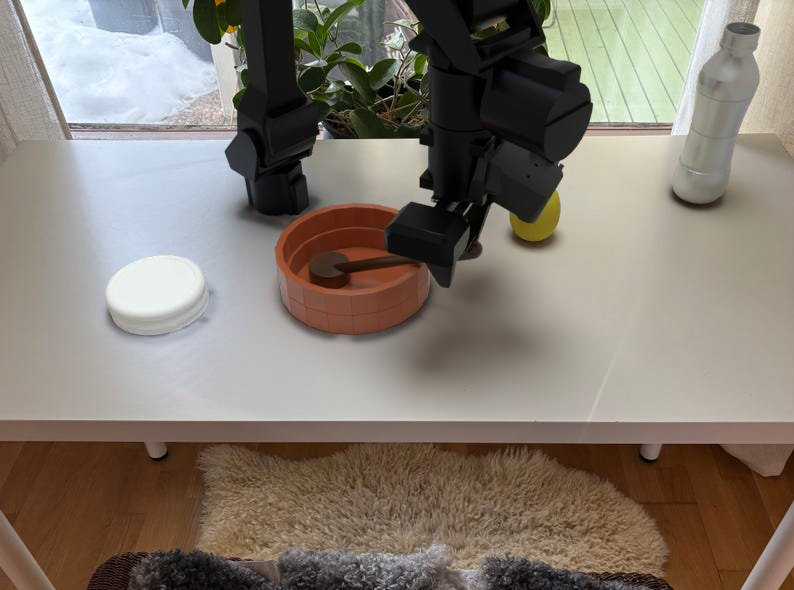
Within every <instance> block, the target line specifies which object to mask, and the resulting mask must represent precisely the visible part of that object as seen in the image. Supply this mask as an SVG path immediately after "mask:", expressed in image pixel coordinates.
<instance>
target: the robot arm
mask: <svg viewBox="0 0 794 590" xmlns="http://www.w3.org/2000/svg"><path fill="white" fill-rule="evenodd" d="M239 1H240V2H239V3H240V12H241V21H242V30H243V39H244V40H243V41H244V49H245V59H246V67H247V79H248V83H247V86H246V88H245V90H244V92H243V94H242V96H241V98H240V100H239V103H238V106H237V108H236V132H237V134H236V135H235V136H234V137H233V139H232V140H231V141H230V142H229V144H228V145H227V147H226V148H225V149H224V155H225V159H226V160H227V163H228V165H229V168H230V169H231V170H232V171H233V172H235V173H236V174H239V176H242V177H243V178H244V183H245V189H246V194H247V201H248V205H250V206H253V207H254V209H255V211H256V212H257V213H259V214H261V215H263V216H267V217H281V216H285V215H287V216H291V217H292V216H299V215H301V213H303V212H304V211H305V210H306V208H308V206H310V199H309V189H308V181H307V175H306V174H304V172H303V165H302V164H303V163H302V160H304V159H306V158H309V157H311V156H312V155H313V151H314V145H315V144H316V142H317V136H319V135H321V132H320V128H319V122H318V115H319V106H318V104H317V103H316V102H315V101H314V100H310V98H309V97H308V95H307V94H306V93H305V92H304V90H303V89H302V88H301V86H300V85H299V83H298V77H297V60H296V45H295V26H294V24H295V23H294V10H293V0H239ZM403 1H404V3H405V4H406V5H407V7H408V8H409V10H410V11H411V12H412V14H413V15H414V16H415V18H416V19H417V21H418V22H419V23H420V25H421V26H422V28H423V29H421V31H420V32H419V33H418V34H417V35H415V36H414V37H412V39H409V41H408V42H407V43H408V44H407V46H408V49H409V50H410V51H412V52H414V53H417V54H420V55H422V56H425V57H427V58H428V83H427V84H428V85H427V86H428V91H427V93H428V98H427V99H428V100H427V101H428V104H427V105H428V106H427V108H428V109H427V113H428V114H427V124H425V126H424V127H423V128H422V130H420V132H419V133H418V136H419V137H418V145H421V146H425V147H427V168H426V169H425V170H424V171H423V172H422V173H421V174H420V176H419V177H418V178H419V180H418V181H419V182H418V183H419V184H418V186H419V188H420V189H424V190H428V191H433V192H432V193H433V194H432V195H431V197H430V202H431V203H434V204H435V205H434V206H431V205H427V204H425V203H419V202H416V201H410V202H408V203H407V204H405V205H404V206H402V207H401V208H400V209H399V212H398V213H397V214H396V216H395V217H394V218H393V219H392V220H391V221H390V223H389V224H388V225H387V226H386V227H385V228H384V240H385V249H386V250H387V252H388V253H391V254H395V255H398V256H402V257H406V258H409V259H413V260H417V261H420V262H424V263H425V264H426V266H427V267H428V269H429V270H430V272H431V273H430V275H432V277H433V279H434V280H435V282H436V284H437V285H438V286H439V287H442V288H445V289H450V288H451V286H452V283H453V280H454V275H455V271H456V266H457V263H458V261H457V260H458V259H459V257H460V256H461V254H463V253H464V252H465V251H466V250H467V248H468V247H469V245H470V244H471V243H472V241H473V240H477V241H479V242H480V238H481V235H482V232H483V229H484V227H485V224H486V221H487V218H488V215H489V212H490V210H491V207H492V204H496V205H497V206H499V207H501V208H503V209H505V210H506V211H508V212H511V213H513V214H515V215H516V216H517V217H518V219H519V220H521V221H523V222H525V223H530V224H531V223H535V222H536V221H537V219H538V218H539V216H540V214H541V213H542V211H543V210H544V208H545V206H546V205H547V203H548V201H549V200H550V198H551V196H552V195H553V193H554V191H555V190H557V188H558V186H559V185H560V183H561V181H562V180H563V178H564V172H563V169H564V168H565V165H564V164H563V163H560V162H561V161H564V160H565V159H566V158H567V157H569V156H570V155H571V154H572V153H574V151H575V150H576V148H577V147H578V146H579V144H580V143H581V142H582V140H583V138H584V137H585V134H586V132H587V130H588V127H589V125H590V122H591V118H592V115H593V109H594V103H593V102H592V97H591V95H592V94H591V90H590V88H589V87H588V85H587V84H586V83H583V82H581V75H582V66H581V65H580V64H578V63H575V62H573V61H570V60H566V59H557V58H556V59H555V58H553V57H550V56H547V55H544V54H542V53H539V52H536V51H534V49H536V48H538V47H541V46H542V45H545V43H546V42H547V36H546V34H545V31H544V29H543V27H542V24H541V21H540V17H539V15H538V13H537V11H536V9H535V6H534V4H533V1H532V0H403ZM502 22H505V23H506V24H507V26H508V28H506V29H503V30H501V31H499V32H497V33H494V34H492V35H490V36H488V37H485V38H481V37H478V36H476V35H474V34H476V33H478V32H481V31H484V30H485V29H489V28H490V27H493V26H496V25H497V24H500V23H502Z"/></svg>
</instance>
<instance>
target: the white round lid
mask: <svg viewBox="0 0 794 590" xmlns="http://www.w3.org/2000/svg"><path fill="white" fill-rule="evenodd" d="M208 287H209V286H208V283H207V279H206V275H205V272H204V271H203V269H202V267H201V266H200V265H199V264H197V262H195V261H193V260H191V259H189V258H186V257H183V256H179V255H170V254H162V255H161V254H160V255H153V256H148V257H143V258H141V259H137V260H135V261H133V262H131V263H129V264H126V265H125V266H123V267H122V268H120V269H119V270H117V271H116V273H115V274H114V275H112V277H111V278H110V279H109V281H108V282H107V284H106V287H105V290H104V299H105V300H104V301H105V304H106V305H107V306H108V311H109V314H110V315H111V318H112V320H113V322H114V324H115V325H116V326H117V327H118V328H119V329H121V330H123V331H125V332H127V333H131V334H133V335H140V336H157V335H165V334H168V333H169V334H170V333H173V332H176V331H178V330H180V329H183V328H185V327H187V326H190V325H191V324H192V323H194V322H195V321H196V320H198V318H200V317H201V316H202V314H203V313H204V312H205V311H206V309H207V307H208V305H209V302H210V292H209V288H208Z"/></svg>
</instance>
